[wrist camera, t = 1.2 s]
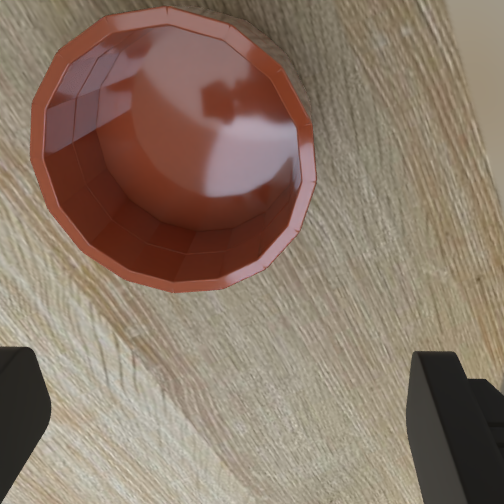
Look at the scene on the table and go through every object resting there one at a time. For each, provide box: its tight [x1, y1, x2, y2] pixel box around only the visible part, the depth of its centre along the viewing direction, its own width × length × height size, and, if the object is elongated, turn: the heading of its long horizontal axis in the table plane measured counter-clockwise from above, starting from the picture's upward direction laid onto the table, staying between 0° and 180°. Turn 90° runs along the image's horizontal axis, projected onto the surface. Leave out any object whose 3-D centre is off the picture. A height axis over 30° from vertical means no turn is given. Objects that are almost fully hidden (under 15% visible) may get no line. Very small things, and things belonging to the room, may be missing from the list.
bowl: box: [30, 5, 317, 293], centre depth 21 cm, size 11×11×6 cm
